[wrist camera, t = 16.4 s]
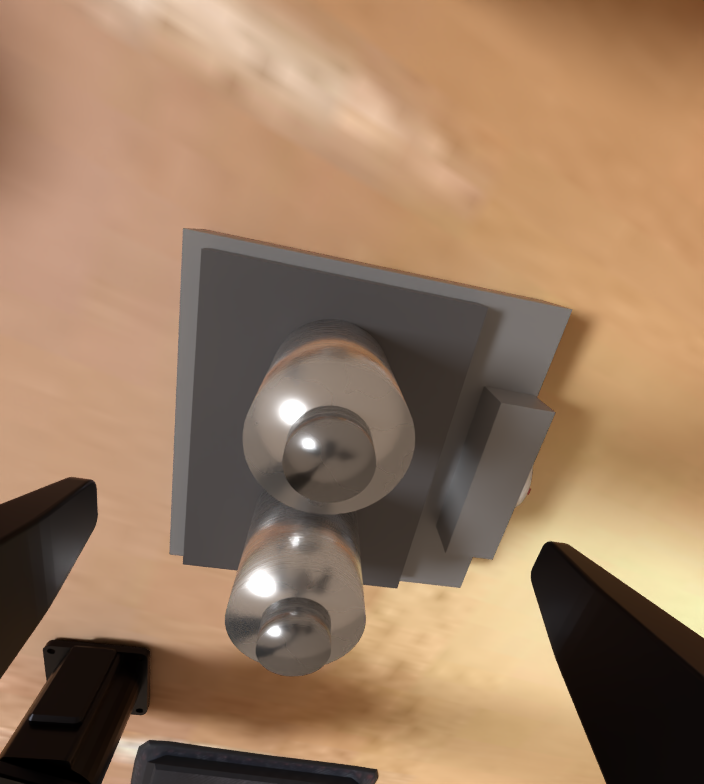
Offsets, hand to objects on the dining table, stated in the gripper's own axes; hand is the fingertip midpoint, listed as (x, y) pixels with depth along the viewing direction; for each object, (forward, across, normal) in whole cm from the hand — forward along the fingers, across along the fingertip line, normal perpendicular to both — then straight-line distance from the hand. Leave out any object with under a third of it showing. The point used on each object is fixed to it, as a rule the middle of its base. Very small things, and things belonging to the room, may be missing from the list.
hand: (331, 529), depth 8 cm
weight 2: (+9, 0, +7) cm, 11 cm away
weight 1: (+9, 0, 0) cm, 9 cm away
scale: (+12, -2, +4) cm, 13 cm away
